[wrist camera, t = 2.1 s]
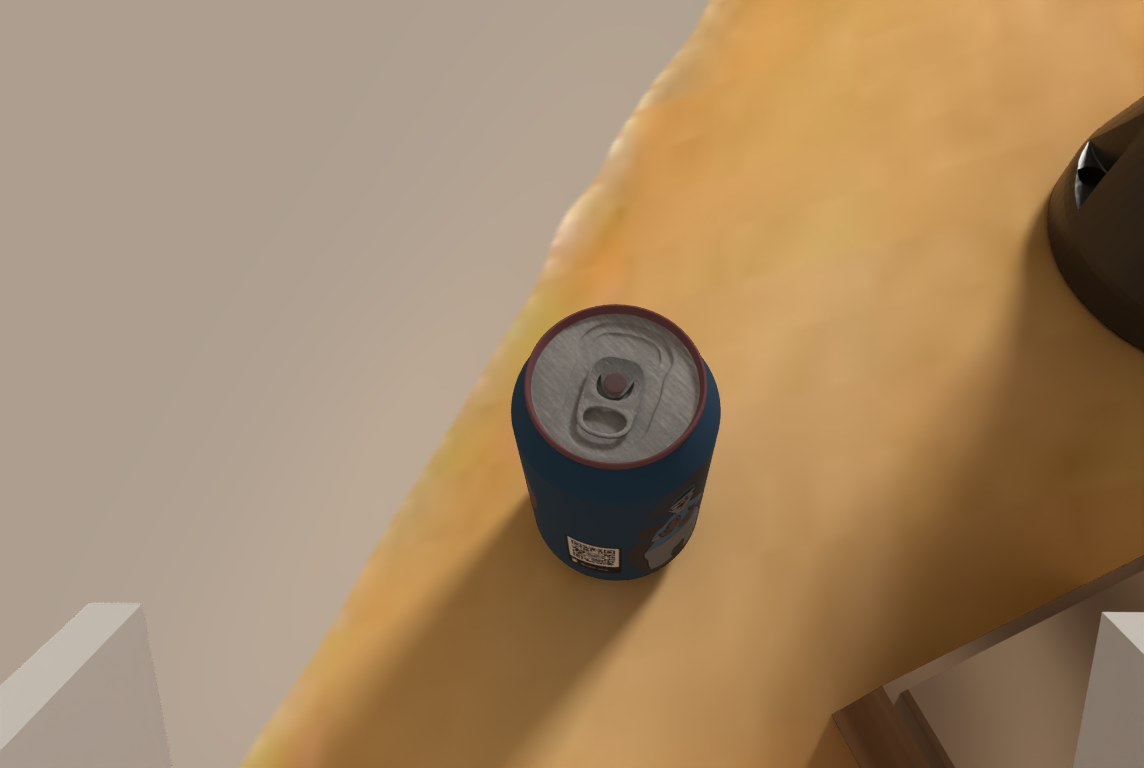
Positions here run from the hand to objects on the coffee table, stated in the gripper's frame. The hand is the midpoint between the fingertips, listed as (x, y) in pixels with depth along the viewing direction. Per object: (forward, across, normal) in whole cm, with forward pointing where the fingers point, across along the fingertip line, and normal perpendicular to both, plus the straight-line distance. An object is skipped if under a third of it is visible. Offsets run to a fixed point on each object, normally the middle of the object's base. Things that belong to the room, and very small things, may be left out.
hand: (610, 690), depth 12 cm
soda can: (+24, 0, -9) cm, 26 cm away
